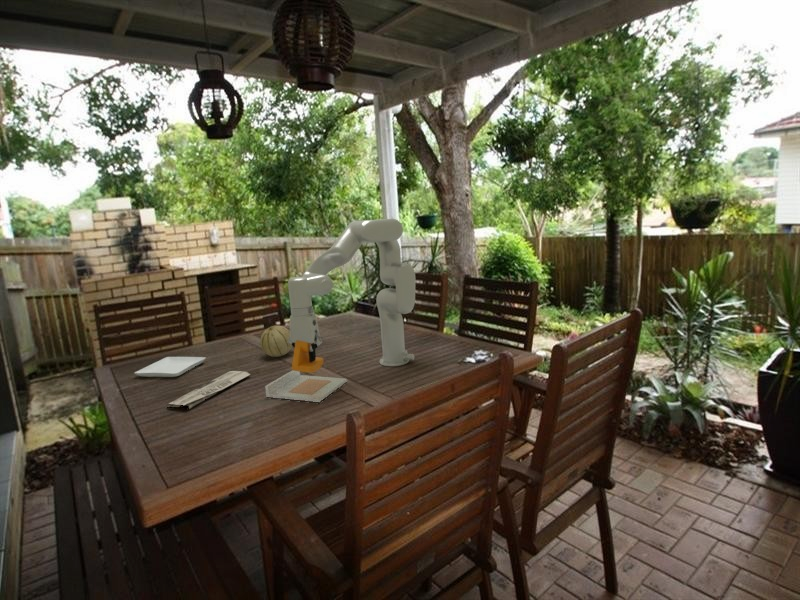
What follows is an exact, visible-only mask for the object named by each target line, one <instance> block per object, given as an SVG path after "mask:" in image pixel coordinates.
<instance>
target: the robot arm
mask: <svg viewBox="0 0 800 600" xmlns="http://www.w3.org/2000/svg"><path fill="white" fill-rule="evenodd" d="M403 229H404V228H403V225H402V223H401V221H399V220H398V219H396V218H379V219H378V218H377V219H363V220H354V221H351V222H349V224H348V225H347V226H346V227H345V229H343V231H342V232H341V234H340V235H339V236H338V238H337V239H336V240H335V242H334V243H333V245H332V246H331V247H330V248H329V249H327V250H326V251H325V252H323V253H322V254H321V255H319V256H318V257H317V258H315V260H313V262H312V263H311V264H310V265H309V266H308V267H307V268H306V270H305V271H304V272H303V274H302V276H294V277H290V278H289V279H288V280H287V287H288V294H289V295H288V296H289V303H290V304H289V306H290V316H289V331H290V337H289V339H288V342H289V343H290V344H292V348H294V349H295V342H296V340H298V341H304V342H308V343H309V345H308V346H309V350H310V351H309V362H313V361H315V360H316V357H317V356H316V355H317V354H316V350H317V348H319V346H320V345H321V344H323V340H322V338H321V334H320V328H319V324H318V323H319V322H318V319H317V316H316V314H315V313H316V309H315V308H313V303H312V296H324V295H327V294H330V293H331V291H332V290H333V288H334V281H333V280H332V278H331V277H330V276H328V275H327V274H329V272H332V271H333V270H335V269H337V268H339V267H342V266H345V265H346V264H348V263H349V262H351V260H352V258H353V257H354V256H355V254H356V253H357V251H358V250H359V249H360V248H361V246H362V245H363V244H365V243H366V244H370V243H371V244H372V243H376V245H377V247H378V251H379V277H380V281H381V282H382V284H385V285H387V286H393V287H395V288H391V287H388V288H383V289H381V290H380V291H379V292H378V293H377V295H376V300H375V301H376V302H375V303H376V306H377V311H378V314H379V322H380V336H381V347H382V357H381V358H380V359H379V364H380V365H382V366H383V367H384V366H385V367H399V366H404V365H406V364H408V363H409V362H410V360H411V361H412V360H413V361H414V360H415V355H414V353H408V350H407V349H406V348H405V345H406V344H405V331H404V330H405V329H404V319H403V316H402V315H406V314H409V313H411V312H412V310H413V309H414V307H415V303H416V272H415V269H414V268H413V267H412V265H411V264H409V263H407V262H402V259H401V256H402V255H401V253H402V252H401V247H400V244H399V242H398V240H399V239H400V238H401V237H402V235H403V232H404V230H403Z"/></svg>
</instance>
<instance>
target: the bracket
mask: <svg viewBox="0 0 800 600" xmlns="http://www.w3.org/2000/svg"><path fill="white" fill-rule="evenodd" d="M308 345H309V343H308V342H304V341H298V340H296V342H295V348H294V351H293V357H292V364H291V371H300V373H301V372H302V373H316V372H317V371H319V370H320V369H321V368H322V365H324V358H323V357H317V356H316V360H315V361H313V362H309V351H310V350H309V346H308Z"/></svg>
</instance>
